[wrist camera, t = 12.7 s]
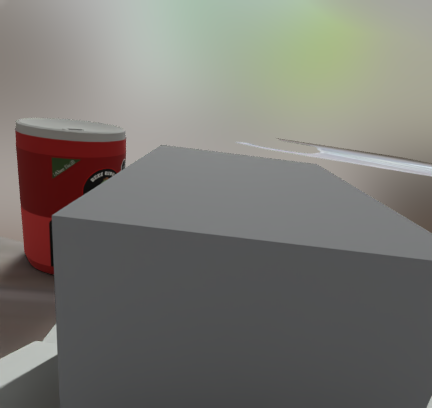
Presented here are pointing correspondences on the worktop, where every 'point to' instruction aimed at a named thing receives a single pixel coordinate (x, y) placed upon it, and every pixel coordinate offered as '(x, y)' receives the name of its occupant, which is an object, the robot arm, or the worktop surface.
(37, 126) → the canned food
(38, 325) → the worktop surface
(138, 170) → the block
